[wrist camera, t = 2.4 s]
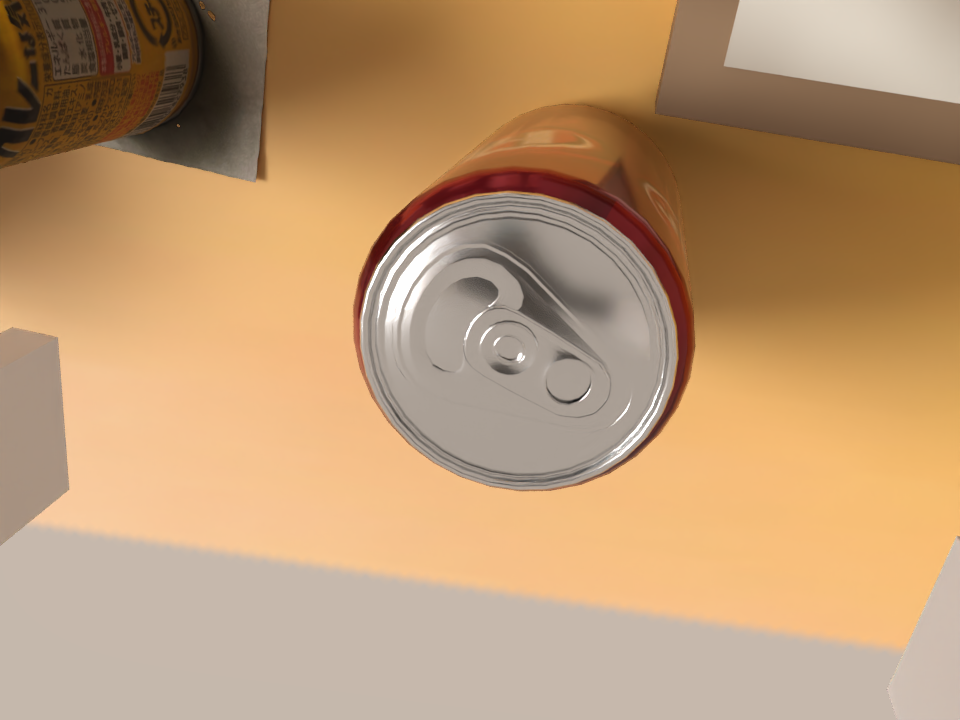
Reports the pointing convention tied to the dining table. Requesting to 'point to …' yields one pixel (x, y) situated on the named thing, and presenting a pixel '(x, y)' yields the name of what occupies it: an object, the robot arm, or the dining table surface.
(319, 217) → the dining table surface
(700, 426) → the dining table surface
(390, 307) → the soda can
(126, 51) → the condiment
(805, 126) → the picture frame
